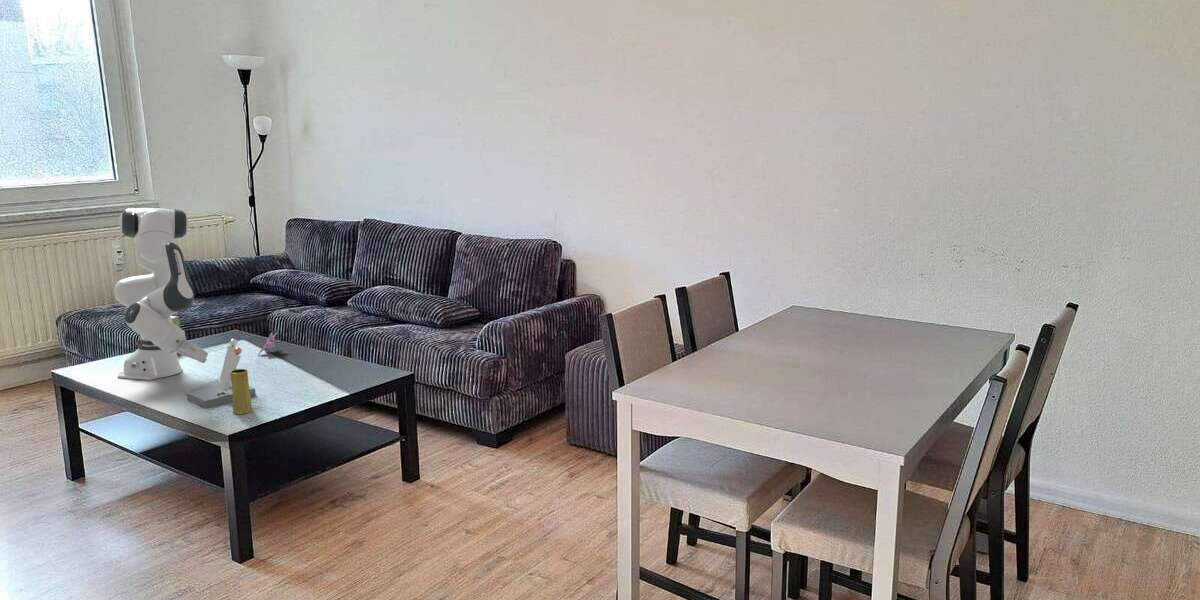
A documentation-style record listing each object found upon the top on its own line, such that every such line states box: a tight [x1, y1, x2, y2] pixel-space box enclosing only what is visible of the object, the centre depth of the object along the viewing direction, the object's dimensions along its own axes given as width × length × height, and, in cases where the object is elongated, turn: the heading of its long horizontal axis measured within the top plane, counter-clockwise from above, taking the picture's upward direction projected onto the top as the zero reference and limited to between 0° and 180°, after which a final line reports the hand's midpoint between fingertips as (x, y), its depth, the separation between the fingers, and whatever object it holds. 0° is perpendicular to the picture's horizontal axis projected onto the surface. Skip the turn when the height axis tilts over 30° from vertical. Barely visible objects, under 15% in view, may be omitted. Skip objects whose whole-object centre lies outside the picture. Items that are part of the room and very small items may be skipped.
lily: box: [257, 331, 281, 356], centre depth 361 cm, size 12×12×10 cm
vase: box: [230, 368, 253, 415], centre depth 289 cm, size 6×6×14 cm
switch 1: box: [219, 338, 238, 382], centre depth 311 cm, size 3×4×16 cm
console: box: [186, 383, 257, 409], centre depth 305 cm, size 18×14×3 cm
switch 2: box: [218, 346, 243, 391], centre depth 302 cm, size 3×4×16 cm
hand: (203, 360), depth 294 cm, fingers closed
